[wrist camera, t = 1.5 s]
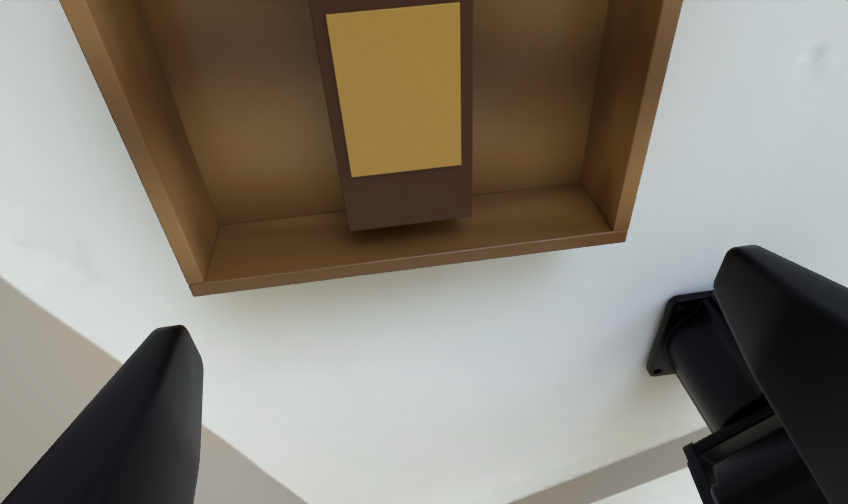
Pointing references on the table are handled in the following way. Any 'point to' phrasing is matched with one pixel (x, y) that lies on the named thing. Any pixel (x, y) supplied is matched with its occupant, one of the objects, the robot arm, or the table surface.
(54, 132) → the table surface
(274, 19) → the wooden box
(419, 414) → the table surface
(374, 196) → the chocolate bar
